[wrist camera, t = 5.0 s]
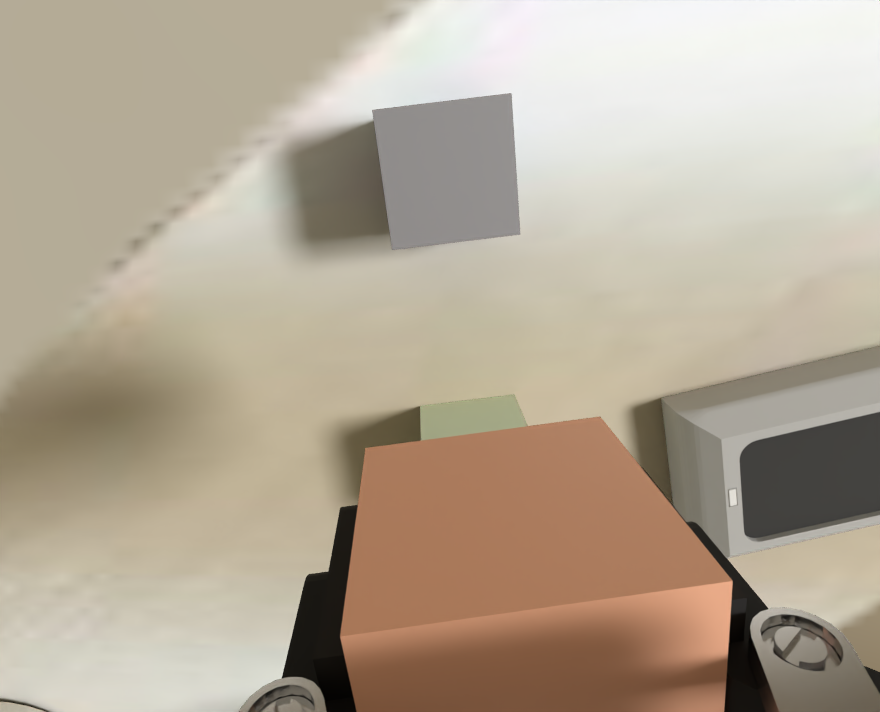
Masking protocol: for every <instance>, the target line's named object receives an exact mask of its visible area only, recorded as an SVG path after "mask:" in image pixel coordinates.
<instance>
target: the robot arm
mask: <svg viewBox="0 0 880 712" xmlns="http://www.w3.org/2000/svg"><path fill="white" fill-rule="evenodd" d="M641 468H642V467H641ZM642 469H643V468H642ZM643 470H644V469H643ZM644 472H645V473H646V474H647V472H646V471H645V470H644ZM647 475H648V474H647ZM648 477H649V478H650V479H651V477H650V476H649V475H648ZM651 480H652V479H651ZM652 482H653V483H654V484H655V482H654V481H653V480H652ZM655 485H656V484H655ZM656 486H657V485H656ZM657 488H658V489H659V487H658V486H657ZM659 490H660V489H659ZM660 491H661V490H660ZM661 493H662V494H663V492H662V491H661ZM663 495H664V494H663ZM664 496H665V495H664ZM665 498H666V499H667V497H666V496H665ZM667 500H668V499H667ZM668 501H669V500H668ZM669 503H670V504H671V502H670V501H669ZM671 505H672V504H671ZM672 506H673V505H672ZM357 508H358V505H354V506H346V507H341V508H340V512H339V518H338V523H337V528H336V534H335V539H334V545H333V550H332V556H331V561H330V567H329V572H322V573H315V574H309V575H308V576H307V577H306V580H305V583H304V587H303V591H302V595H301V600H300V604H299V608H298V612H297V617H296V621H295V625H294V629H293V634H292V638H291V642H290V646H289V651H288V655H287V659H286V663H285V667H284V672H283V676H282V679H278V680H275V681H273V682H271V683H269V684H267V685H265V686H263V687H262V688H260V689H259V690H258V691H256V692H255V693H254V694H253V695H251V696H250V697H249V699H248V700H247V701H246V702H245V703H244V705H243V706H242V707H241V708H240V710H239V712H357V711H356V706H355V702H354V697H353V693H352V688H351V684H350V679H349V675H348V670H347V666H346V661H345V657H344V652H343V648H342V643H341V639H340V634H341V626H342V619H343V611H344V604H345V597H346V589H347V582H348V574H349V567H350V559H351V552H352V545H353V537H354V530H355V522H356V515H357ZM673 508H674V509H675V507H674V506H673ZM675 510H676V509H675ZM676 511H677V510H676ZM677 513H678V514H679V512H678V511H677ZM679 515H680V514H679ZM680 516H681V515H680ZM681 517H682V516H681ZM682 519H683V517H682ZM683 520H684V519H683ZM684 521H685V520H684ZM685 522H686V521H685ZM686 524H687V525H688V526H689V527H690V529H691V530H692V531H693V532H694V534H695V535H696V536H697V537H698V539H699V540H700V541H701V542H702V543H703V545H704V546H705V547H706V548H707V550H708V551H709V552H710V553H711V555H712V556H713V557H714V558H715V560H716V561H717V562H718V563H719V565H720V566H721V567H722V568H723V570H724V571H725V572H726V573H727V574H728V576H729V577H730V578H731V579H732V581H733V585H732V600H731V615H730V631H729V646H728V661H727V677H726V692H725V707H724V712H880V672H878V671H875V670H873V669H870V668H868V667H865V666H863V664H862V662H861V661H860V659H859V657H858V655H857V653H856V652H855V650H854V648H853V646H852V645H851V643H850V642H849V641H848V640H847V638H846V637H845V636H844V634H843V633H842V632H840V631H839V630H838V629H837V628H835V627H834V626H833V625H832V624H830V623H829V622H827V621H825V620H823V619H821V618H820V617H818V616H816V615H813V614H810V613H807V612H805V611H802V610H797V609H791V608H785V607H784V608H770V609H768V608H767V606H766V605H765V604H764V603H763V602H762V600H761V599H760V598H759V597H758V596H757V594H756V593H755V592H754V591H753V590H752V588H751V587H750V586H749V585H748V583H747V582H746V581H745V580H744V579H743V577H742V576H741V575H740V574H739V573H738V571H737V570H736V569H735V568H734V567H733V565H732V564H731V563H730V562H729V561H728V559H727V558H726V557H725V556H724V555H723V553H722V552H721V551H720V550H719V549H718V547H717V546H716V545H715V544H714V543H713V541H712V540H711V539H710V538H709V537H708V535H707V534H706V533H705V532H704V531H703V529H702V528H701V527H700V526H699V525H698V524H697V523H695V522H692V521H690V522H686ZM0 712H45V711H42V710H39V709H36V708H33V707H30V706H26V705H21V704H16V703H10V702H0Z"/></svg>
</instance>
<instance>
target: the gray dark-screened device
mask: <svg viewBox="0 0 880 712" xmlns="http://www.w3.org/2000/svg"><path fill="white" fill-rule="evenodd" d="M661 402H662V411H663V420H664V428H665V437H666V446H667V455H668V463H669V472H670V481H671V490H672V498H673V506H674V507H675V509H676V510H677V511H678V512H679V514H680V515H681V516H682V517H683V519H684V520H685V521H686V522H690V521H692V522H695V523H697V524H698V525H699V526H700V527H701V528H702V529H703V531H704V532H705V533H706V534H707V535H708V537H709V538H710V539H711V540H712V541H713V543H714V544H715V545H716V546H717V547H718V549H719V550H720V551H721V552H722V553H723V555H724V556H725V557H726V558H731V557H736V556H740V555H745V554H749V553H753V552H758V551H762V550H767V549H771V548H776V547H780V546H785V545H789V544H794V543H798V542H803V541H807V540H812V539H816V538H820V537H825V536H829V535H834V534H838V533H843V532H847V531H852V530H856V529H861V528H865V527H870V526H874V525H879V524H880V346H877V347H873V348H869V349H865V350H861V351H856V352H852V353H848V354H844V355H839V356H835V357H831V358H827V359H823V360H818V361H814V362H810V363H806V364H801V365H797V366H793V367H789V368H785V369H780V370H776V371H772V372H768V373H763V374H759V375H755V376H751V377H747V378H742V379H738V380H734V381H730V382H726V383H721V384H717V385H713V386H709V387H704V388H700V389H696V390H692V391H688V392H683V393H679V394H675V395H671V396H666V397H662V398H661Z"/></svg>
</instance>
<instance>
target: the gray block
mask: <svg viewBox="0 0 880 712" xmlns="http://www.w3.org/2000/svg"><path fill="white" fill-rule="evenodd" d="M372 112H373V119H374V126H375V133H376V140H377V147H378V154H379V161H380V168H381V175H382V182H383V189H384V196H385V203H386V210H387V217H388V224H389V231H390V238H391V245H392V250H397V249H405V248H413V247H421V246H429V245H438V244H446V243H454V242H462V241H471V240H479V239H487V238H495V237H504V236H512V235H520V221H519V206H518V190H517V174H516V158H515V142H514V126H513V110H512V95H511V93H509V94H501V95H492V96H484V97H476V98H468V99H459V100H451V101H443V102H434V103H426V104H418V105H410V106H401V107H393V108H385V109H376V110H372Z"/></svg>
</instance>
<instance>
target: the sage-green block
mask: <svg viewBox="0 0 880 712" xmlns="http://www.w3.org/2000/svg"><path fill="white" fill-rule="evenodd" d="M420 426H421V440H429V439H436V438H444V437H451V436H459V435H466V434H474V433H481V432H489V431H496V430H503V429H511V428H518V427H526V426H528V425H527V423H526V421H525V418H524V416H523V414H522V411H521V409H520V407H519V404H518V402H517V399H516V397H515V395H506V396H498V397H490V398H481V399H473V400H465V401H457V402H449V403H441V404H433V405H425V406H420Z"/></svg>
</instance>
